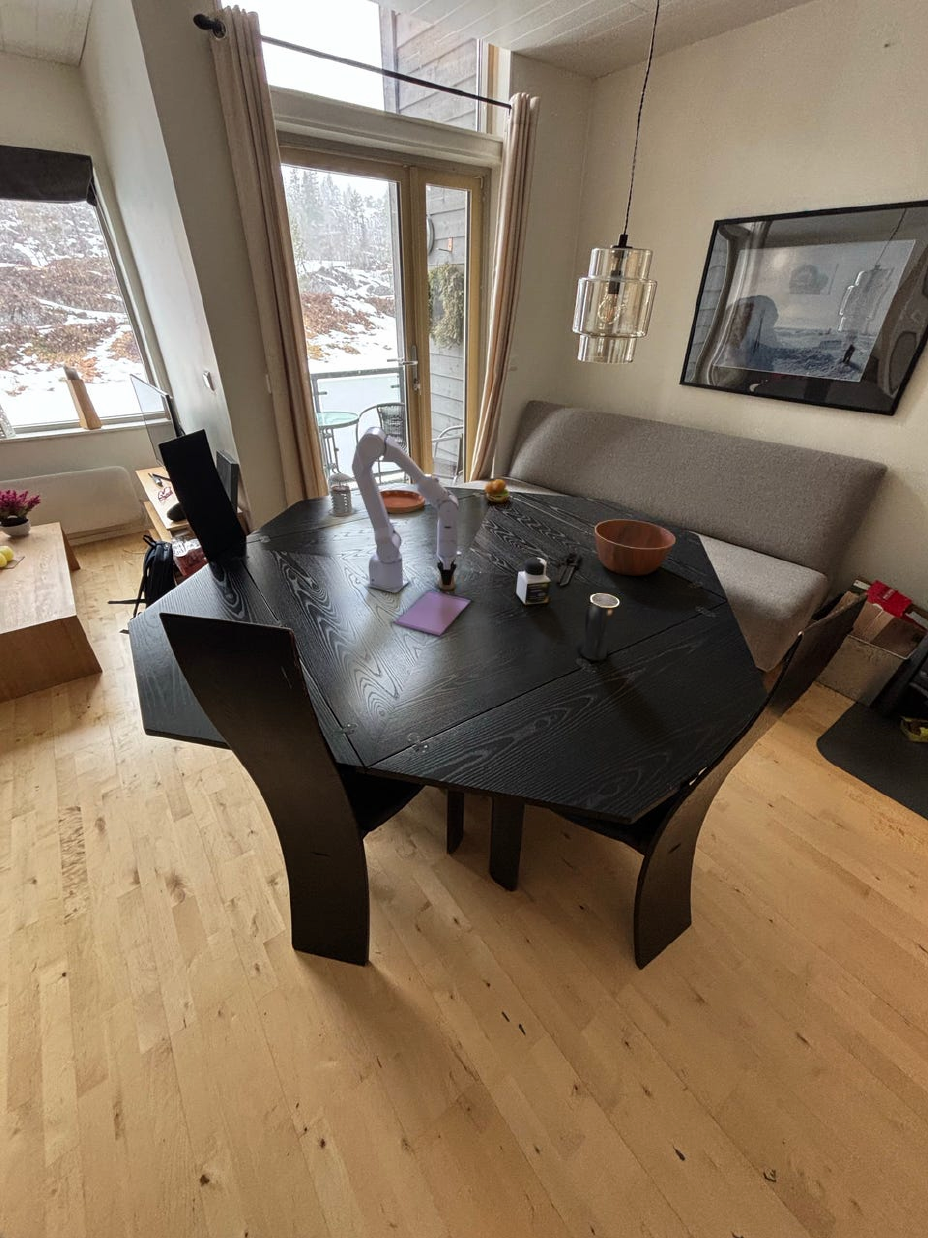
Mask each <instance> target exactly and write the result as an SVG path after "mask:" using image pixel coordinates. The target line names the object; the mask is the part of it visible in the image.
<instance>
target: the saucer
mask: <svg viewBox="0 0 928 1238" xmlns="http://www.w3.org/2000/svg"><path fill="white" fill-rule="evenodd" d="M379 491H380V490H379ZM380 494H381V497H382V499H383V502H384V505H385V508H386V511H387V513H391V514H403V513H404V514H405V513H410V512H411V513H412V512H415V511H417V510H419V509H421V508H422V507H423V506H425V504H426V499H425V498H424V497H423V496H422V495H421V494H420V493H419V492H418V491H417V492H416V491H414V490H413V491H412V490H405V489H386V490H381V491H380Z"/></svg>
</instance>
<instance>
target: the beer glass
mask: <svg viewBox="0 0 928 1238" xmlns="http://www.w3.org/2000/svg"><path fill="white" fill-rule="evenodd" d="M589 598H590V599H589V601H588V604H587V608H586V613H585V622H584V623H585V624H584V625H585V626H584V627H585V628H584V629H585V638H584V642H583V645H582V647H581V650H580V653H581V655H582V657H584V658H586V659H588V660H590V661H594V662H599V661H603V660H605V659H606V658H607V655H608V643H609V640H610V638H611V636H612V633H613V631H614V629H615V627H616V624H617V619H618V615H619V607H620V600H619V599H618V598H617V597H616V596H614V595H612V594H608V593H595V594H592V595H590V597H589Z"/></svg>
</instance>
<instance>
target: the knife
mask: <svg viewBox="0 0 928 1238" xmlns="http://www.w3.org/2000/svg"><path fill="white" fill-rule="evenodd" d="M580 560H581V554H580V553H577V552H574V551H568V552H567V553H565V554H564V555H563V559H562V560H558V566H560V567H559V569H558V572H557V574H556V576H555V578H554V580H556V581H557V582H558V583H559V586H563V585H566V584H568V583H569V580H570V578H571V576H572V574H573V571H574V569H579V563H580ZM569 562H571V563H569ZM568 563H569V565H568Z"/></svg>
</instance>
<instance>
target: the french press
mask: <svg viewBox="0 0 928 1238" xmlns="http://www.w3.org/2000/svg"><path fill="white" fill-rule="evenodd" d="M339 451H340V449H339V447H334V448H333V452H335V453H336V454H335V455H336V456H338V452H339ZM336 465H337V466H339V460H338V458H336ZM327 478H328V480H329V481H331V482H335V483H337V482H338V484H337V485H333V486H331V487H330V492H329V493H330V501H331V510H330V511H329V513H330V515H332V516H336V517H346V516H350V515H353V514H355V512H356V511H355V509H354V508H353V507H352V506H353V505H352V504H353V503H352V494H351V493H352V492H351V489H350V486H349V485H348V483H345V485H344V484H343V483H342V482H347V481H349V479H350V476H349V475H348V474H346V473H343V472H340V471H339V468H337V473H333V474H330V475H329V476H328V477H327ZM341 483H342V484H341Z"/></svg>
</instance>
